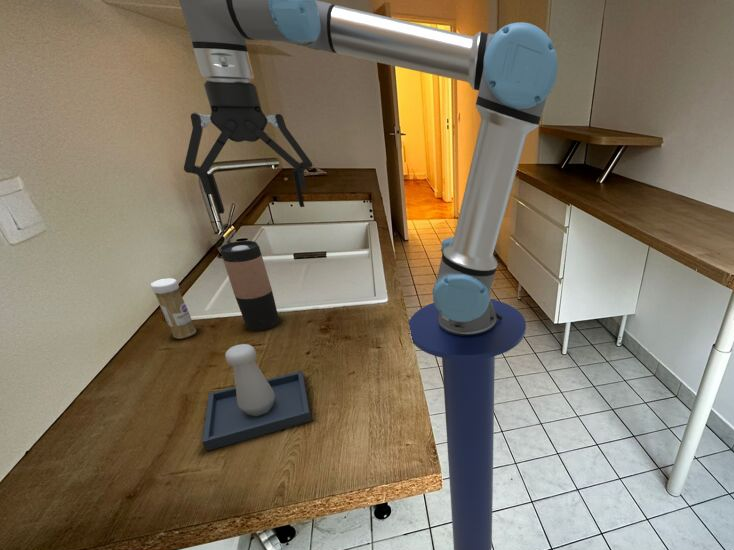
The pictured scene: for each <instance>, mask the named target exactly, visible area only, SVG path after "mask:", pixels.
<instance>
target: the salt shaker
mask: <svg viewBox="0 0 734 550" xmlns="http://www.w3.org/2000/svg"><path fill="white" fill-rule="evenodd" d="M224 356H225V360H226V363H227V364H228V365H229V366H231V367H232V369H233V370H232V371H233V377H234V383H235V384H234V386H235V387H236V395H237V403H238V406H239V408H240V409H241V410H243V411H244V412H245V413H246V414H248V415H252V416H259V415H262V414H264V413H267V412H268V411H269V410H270V409H271V407H272V406H273V403H274V399H275V393H274V391H273V389H272V388H271V386H270V385H269V383H268V381H267V380H266V379H267V378H266V377H265V375H264V374H263V372H262V370H261V369H260V367H259V365H258V364H257V362H256V361H255V360H256V358H257V351H256V349H255V347H254V346H253V345H252V344H251V345H250V344H249V343H241V344H236V345H233V346H231V347H230V348H228V349H227V350H226V351H225V353H224Z"/></svg>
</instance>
